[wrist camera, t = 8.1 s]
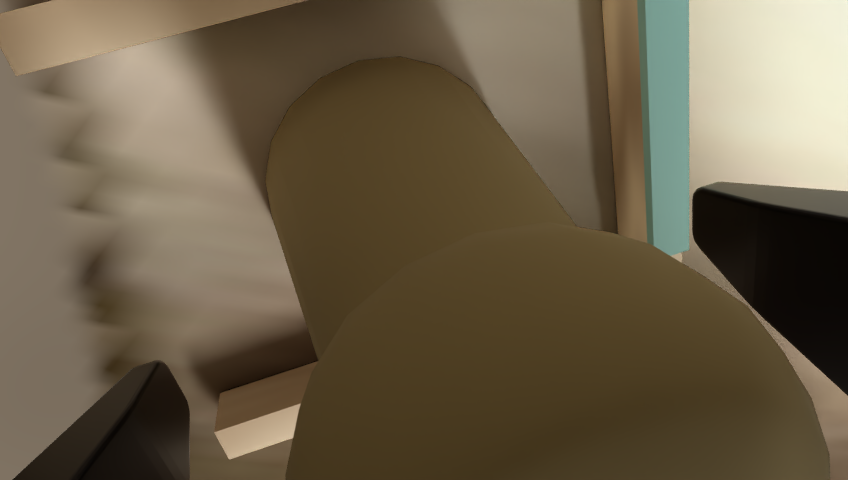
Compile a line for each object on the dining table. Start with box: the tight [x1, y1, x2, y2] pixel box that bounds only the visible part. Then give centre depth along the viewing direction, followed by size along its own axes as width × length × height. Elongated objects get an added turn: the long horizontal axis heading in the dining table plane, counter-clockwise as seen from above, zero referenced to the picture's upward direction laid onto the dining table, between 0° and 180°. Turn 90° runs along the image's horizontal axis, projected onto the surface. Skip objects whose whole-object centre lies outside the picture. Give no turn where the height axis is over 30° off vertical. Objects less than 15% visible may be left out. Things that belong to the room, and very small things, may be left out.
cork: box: [265, 57, 830, 480], centre depth 9 cm, size 6×6×11 cm
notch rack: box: [0, 0, 689, 459], centre depth 13 cm, size 31×13×2 cm, turn 13°
